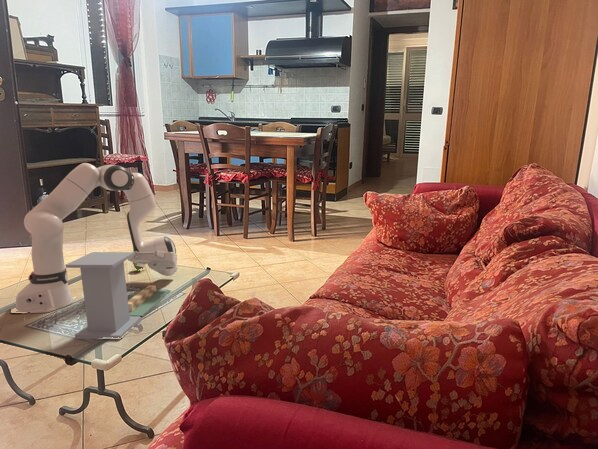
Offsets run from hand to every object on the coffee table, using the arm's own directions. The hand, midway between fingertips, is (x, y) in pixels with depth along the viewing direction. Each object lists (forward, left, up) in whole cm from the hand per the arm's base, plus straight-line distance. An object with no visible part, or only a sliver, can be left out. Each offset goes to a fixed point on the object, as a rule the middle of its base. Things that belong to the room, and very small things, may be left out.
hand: (145, 252), depth 186 cm
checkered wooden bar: (-3, -7, -18) cm, 20 cm away
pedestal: (-11, -31, -19) cm, 38 cm away
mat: (-3, -8, -19) cm, 21 cm away
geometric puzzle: (-7, +41, -19) cm, 46 cm away
